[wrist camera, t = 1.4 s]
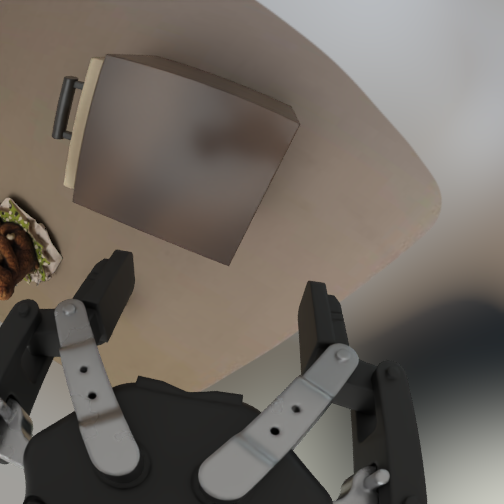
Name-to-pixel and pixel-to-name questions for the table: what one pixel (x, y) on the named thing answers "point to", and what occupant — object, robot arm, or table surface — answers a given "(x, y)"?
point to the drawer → (81, 115)
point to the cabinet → (180, 152)
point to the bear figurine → (23, 249)
